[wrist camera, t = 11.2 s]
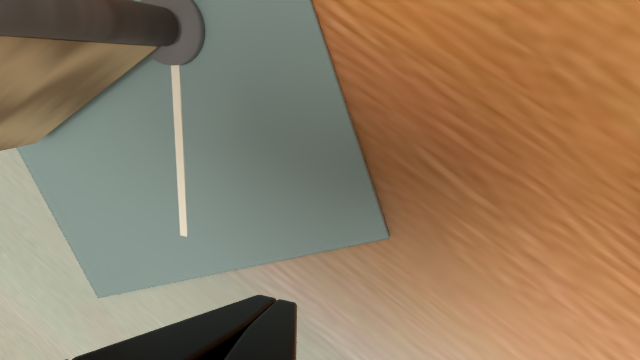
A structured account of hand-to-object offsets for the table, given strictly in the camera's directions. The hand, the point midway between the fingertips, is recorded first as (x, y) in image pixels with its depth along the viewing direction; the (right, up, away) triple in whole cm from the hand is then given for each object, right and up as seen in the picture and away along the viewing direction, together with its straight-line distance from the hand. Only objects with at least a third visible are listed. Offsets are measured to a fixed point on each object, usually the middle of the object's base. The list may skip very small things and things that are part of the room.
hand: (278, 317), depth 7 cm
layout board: (-8, +5, +14) cm, 17 cm away
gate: (-12, +8, +12) cm, 19 cm away
